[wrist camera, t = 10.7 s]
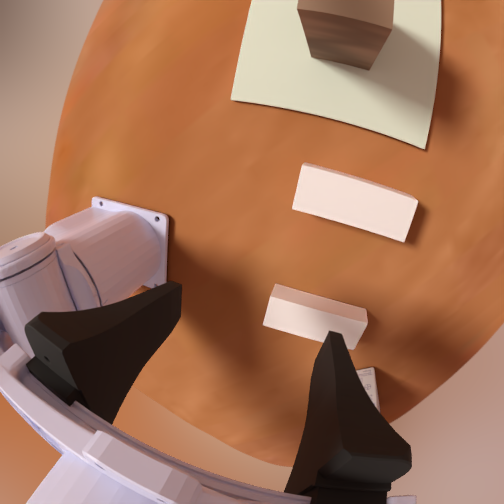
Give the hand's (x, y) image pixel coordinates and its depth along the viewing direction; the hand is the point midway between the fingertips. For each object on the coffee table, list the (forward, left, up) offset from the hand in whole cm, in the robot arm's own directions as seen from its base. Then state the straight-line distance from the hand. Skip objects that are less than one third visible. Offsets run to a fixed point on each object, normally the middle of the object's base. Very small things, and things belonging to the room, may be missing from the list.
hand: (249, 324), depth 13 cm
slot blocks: (+4, 0, -10) cm, 11 cm away
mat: (+1, +17, -10) cm, 20 cm away
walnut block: (+1, +17, -10) cm, 19 cm away
